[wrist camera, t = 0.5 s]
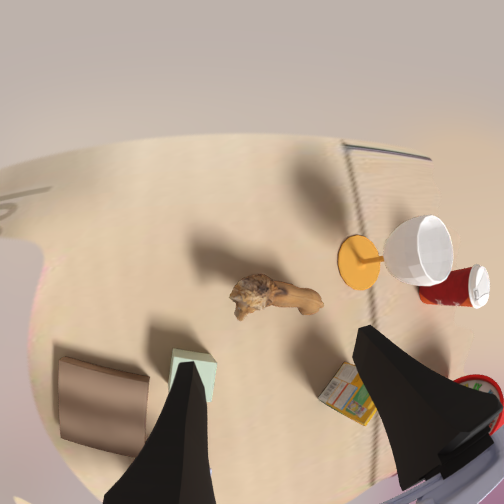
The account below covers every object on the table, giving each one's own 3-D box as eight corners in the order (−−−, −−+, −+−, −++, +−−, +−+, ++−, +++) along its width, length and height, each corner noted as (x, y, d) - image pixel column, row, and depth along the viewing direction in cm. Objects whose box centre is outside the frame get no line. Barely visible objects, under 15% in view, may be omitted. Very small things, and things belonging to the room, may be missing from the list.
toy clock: (447, 369, 49) (517, 378, 30) (453, 380, 50) (519, 391, 31) (400, 443, 43) (470, 472, 24) (409, 451, 43) (474, 478, 25)
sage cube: (205, 388, 34) (211, 401, 30) (168, 383, 33) (168, 396, 28) (210, 353, 35) (217, 363, 31) (172, 348, 34) (173, 356, 29)
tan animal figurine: (218, 315, 36) (235, 323, 28) (219, 275, 37) (236, 270, 29) (318, 314, 41) (355, 319, 32) (318, 279, 41) (355, 275, 33)
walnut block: (144, 448, 31) (143, 458, 28) (66, 429, 27) (60, 437, 25) (149, 375, 33) (148, 382, 30) (66, 355, 30) (58, 360, 27)
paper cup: (420, 315, 47) (478, 316, 34) (411, 280, 47) (471, 274, 34) (440, 298, 50) (493, 295, 37) (431, 264, 50) (486, 256, 37)
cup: (366, 227, 45) (439, 202, 30) (386, 274, 45) (460, 265, 30) (328, 248, 42) (405, 227, 27) (351, 300, 43) (430, 300, 27)
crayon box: (328, 406, 39) (374, 432, 28) (316, 398, 39) (362, 424, 28) (354, 370, 41) (404, 386, 30) (344, 361, 41) (394, 376, 30)
